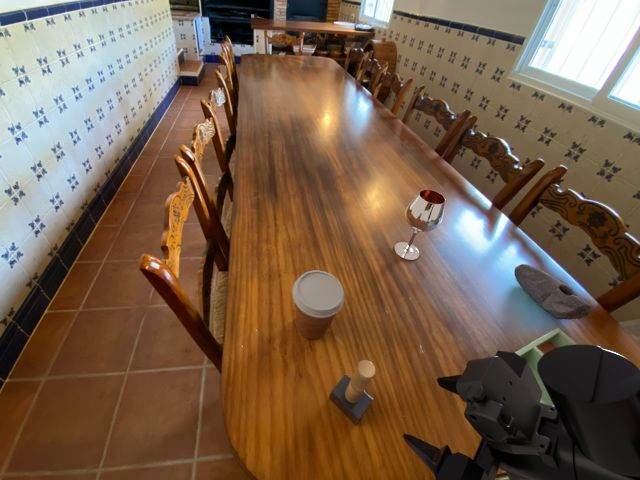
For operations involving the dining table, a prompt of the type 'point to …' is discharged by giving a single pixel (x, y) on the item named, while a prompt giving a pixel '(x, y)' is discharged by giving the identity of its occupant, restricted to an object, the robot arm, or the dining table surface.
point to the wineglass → (421, 219)
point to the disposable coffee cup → (316, 302)
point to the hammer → (354, 391)
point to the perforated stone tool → (551, 293)
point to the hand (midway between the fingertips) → (422, 408)
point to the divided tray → (539, 349)
